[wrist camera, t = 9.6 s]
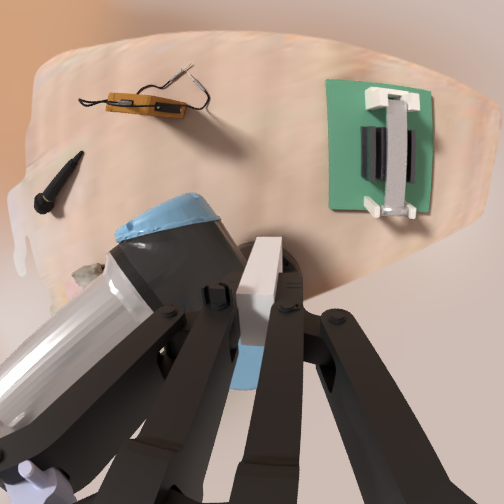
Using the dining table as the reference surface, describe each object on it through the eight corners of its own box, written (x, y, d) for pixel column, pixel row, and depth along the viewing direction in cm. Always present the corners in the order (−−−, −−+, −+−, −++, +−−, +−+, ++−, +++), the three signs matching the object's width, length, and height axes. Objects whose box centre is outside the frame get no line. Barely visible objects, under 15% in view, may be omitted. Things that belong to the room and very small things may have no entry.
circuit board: (425, 210, 43) (448, 226, 35) (328, 207, 46) (335, 223, 38) (427, 92, 35) (453, 86, 27) (325, 80, 38) (332, 68, 30)
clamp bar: (402, 213, 39) (406, 218, 37) (378, 212, 39) (382, 217, 38) (405, 102, 32) (410, 101, 30) (380, 99, 33) (384, 98, 31)
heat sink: (405, 178, 41) (417, 184, 36) (360, 176, 42) (367, 181, 38) (406, 130, 38) (418, 131, 33) (360, 126, 39) (367, 125, 34)
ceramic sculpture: (76, 265, 48) (128, 320, 52) (99, 246, 56) (145, 296, 60) (58, 289, 52) (104, 337, 56) (79, 269, 59) (121, 314, 64)
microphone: (87, 145, 50) (44, 202, 55) (69, 140, 45) (27, 201, 49) (94, 162, 50) (50, 219, 54) (76, 157, 45) (33, 218, 49)
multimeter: (218, 66, 39) (168, 28, 21) (204, 122, 43) (145, 118, 25) (142, 60, 40) (69, 37, 21) (130, 111, 44) (52, 111, 26)
